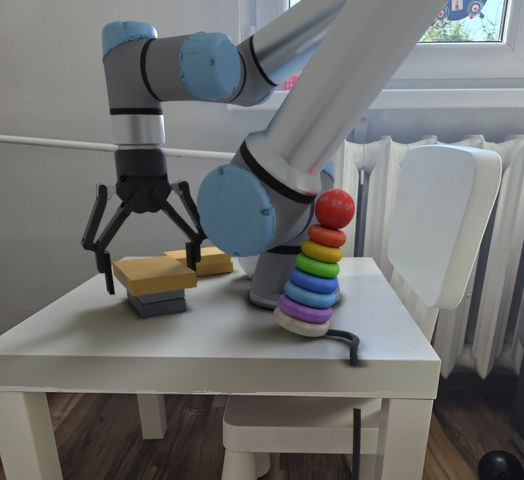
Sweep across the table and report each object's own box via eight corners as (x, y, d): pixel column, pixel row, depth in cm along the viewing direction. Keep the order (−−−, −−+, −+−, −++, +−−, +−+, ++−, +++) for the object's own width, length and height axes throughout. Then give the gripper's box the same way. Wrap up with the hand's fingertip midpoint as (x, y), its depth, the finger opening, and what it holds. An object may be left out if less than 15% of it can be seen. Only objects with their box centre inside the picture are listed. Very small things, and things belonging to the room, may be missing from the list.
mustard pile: (219, 264, 109) (218, 245, 108) (233, 271, 103) (232, 252, 101) (163, 271, 104) (161, 252, 102) (174, 279, 97) (172, 259, 96)
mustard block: (196, 287, 77) (195, 272, 76) (132, 296, 73) (130, 280, 72) (170, 268, 89) (169, 255, 88) (113, 275, 85) (112, 261, 84)
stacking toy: (328, 326, 72) (373, 197, 65) (324, 345, 65) (375, 202, 58) (276, 309, 73) (316, 180, 66) (267, 326, 66) (311, 182, 58)
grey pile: (187, 310, 80) (185, 286, 78) (142, 317, 77) (139, 292, 75) (167, 292, 89) (165, 271, 87) (126, 298, 86) (123, 276, 84)
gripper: (209, 146, 81) (215, 273, 90) (47, 148, 71) (70, 291, 80) (227, 147, 75) (231, 283, 84) (52, 149, 65) (76, 304, 73)
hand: (153, 287), depth 82 cm, fingers open, 13 cm apart
